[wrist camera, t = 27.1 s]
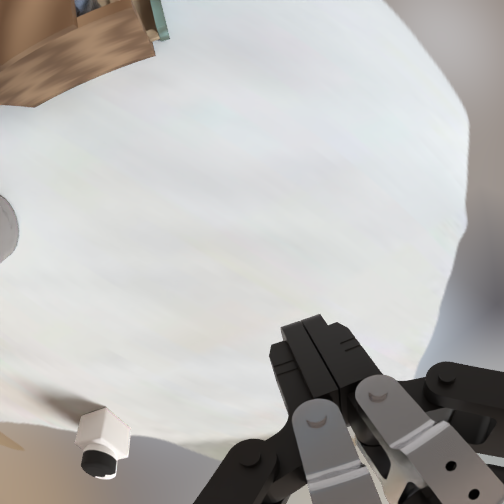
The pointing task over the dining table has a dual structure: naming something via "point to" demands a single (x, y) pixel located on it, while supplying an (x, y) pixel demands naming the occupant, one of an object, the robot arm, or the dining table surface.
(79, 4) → the can
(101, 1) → the wooden drawer
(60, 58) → the walnut box
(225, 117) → the dining table surface
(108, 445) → the medicine bottle
